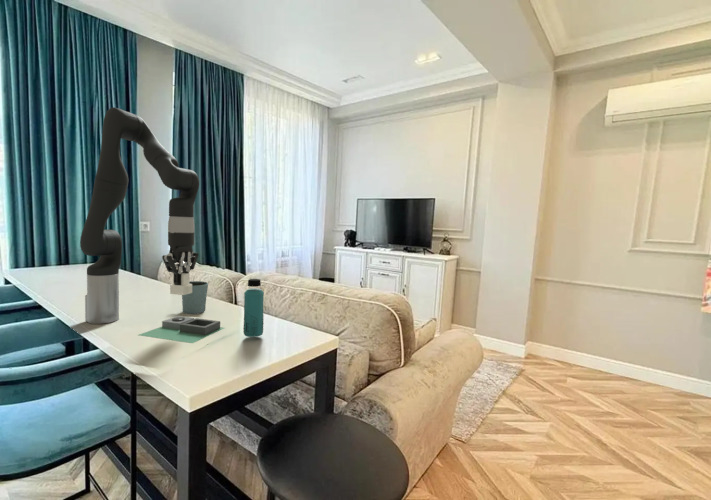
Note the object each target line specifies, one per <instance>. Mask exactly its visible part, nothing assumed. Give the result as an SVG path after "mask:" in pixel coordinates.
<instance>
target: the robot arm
mask: <svg viewBox="0 0 711 500" xmlns="http://www.w3.org/2000/svg"><path fill="white" fill-rule="evenodd" d="M103 117H104V118H103V123H102V132H101V133H102V134H101V144H100V153H99V160H98V164H97V169H96V173H95V179H94V182H93V189H92V197H91V200H90V206H89V210H88V213H87V216H86V219H85V222H84V225H83V227H82V228H83V229H82V232H81V235H80V240H79V241H80V242H79V245H80V246H79V247H80V250H81V252H82V253H83V254H84V255H86V256H90V257H94V256H95V257H97V256H98V257H99V259H97V261H95V262H94V263H92V264H90V265H88V266H87V268H86V294H85V296H84V306H85V308H84V309H85V310H84V311H85V313H84V315H85V317H84V318H85V322H87V323H88V324H94V325H98V324H108V323H112V322H117V321H118V320H120V319H119V318H120V294H119V293H120V290H119V289H120V283H119V282H120V279H119V277H120V276H119V274H120V267H121V265H122V255H123V254H122V252H123V242H122V241H123V240H122V236H121V234H120V233H119V231H116V230H115V229H105V228H106V225H107V222H108V219H109V218H110V216H111V215H112V214H113V213H114V212H115V210H116V209H117V208H119V206H120V205H121V204H122V203H123V201H124V200H125V198H126V195H127V191H128V186H129V174H128V172H127V170H126V168H125V165H124V163H123V160H122V157H121V153H120V152H121V151H120V149H121V147H120V146H121V139H122V140H126V141H130V142H134V143H136V144H138V145H139V146H140V147H142V149H143V150H142V152H143V156H144V158H145V160H146V161H147V162H148V163H149V165H150V166H152V167H153V169H154V170H155V171H156V172H157V174H158V176H159V178H160V180H161V182H162V183H163V185H164V186H165V187H167V188H168V189H170V190H173V191H174V190H175V191H180V193H179V196H178V197H174V198H171V199H169V202H168V222H167V245H168V246H169V247H170V248H169V250H168V251H169V252H168V253H167V254H166V255H165V254H164V255H162V256H161V258H162V261H163V263H164V265H165V267H166V270H167V272H168V273H172V275H173V274H174V284H175V285H181V274H180V273H189V274H190V272H191V271H193V270H194V268H195V266H196V264H197V261H198V258H199V255H200V254H199V253H198V252H195V251H193V248H192V247H194V246H195V221H194V214H195V213H194V207H195V206H194V205H195V201H196V199H197V195H198V191H199V188H200V178H199V176H198V174H197V173H196V172H195V171H194V170H192V169H187V168H184V167H183V168H182V167H179V166H180V165H179V161H178V160H177V158H175V156H174V155H173V154H172V153H171V152H169V151H168V150H167V149H166V147H164V146H163V145H162V144H161V142H160V141H159V139H157V137H156V135H155V134H154V133H153V132H152V129H151V128H150V127H149V126H148V124H147V123H146V122H145V120H144V119H143V118H142V117H141V116H139V115H137V114H135V113H132V112H130V111H126V110H124V109H121V108H118V107H110V108H109V109H107V110H106V112H105V115H104V116H103Z"/></svg>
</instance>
